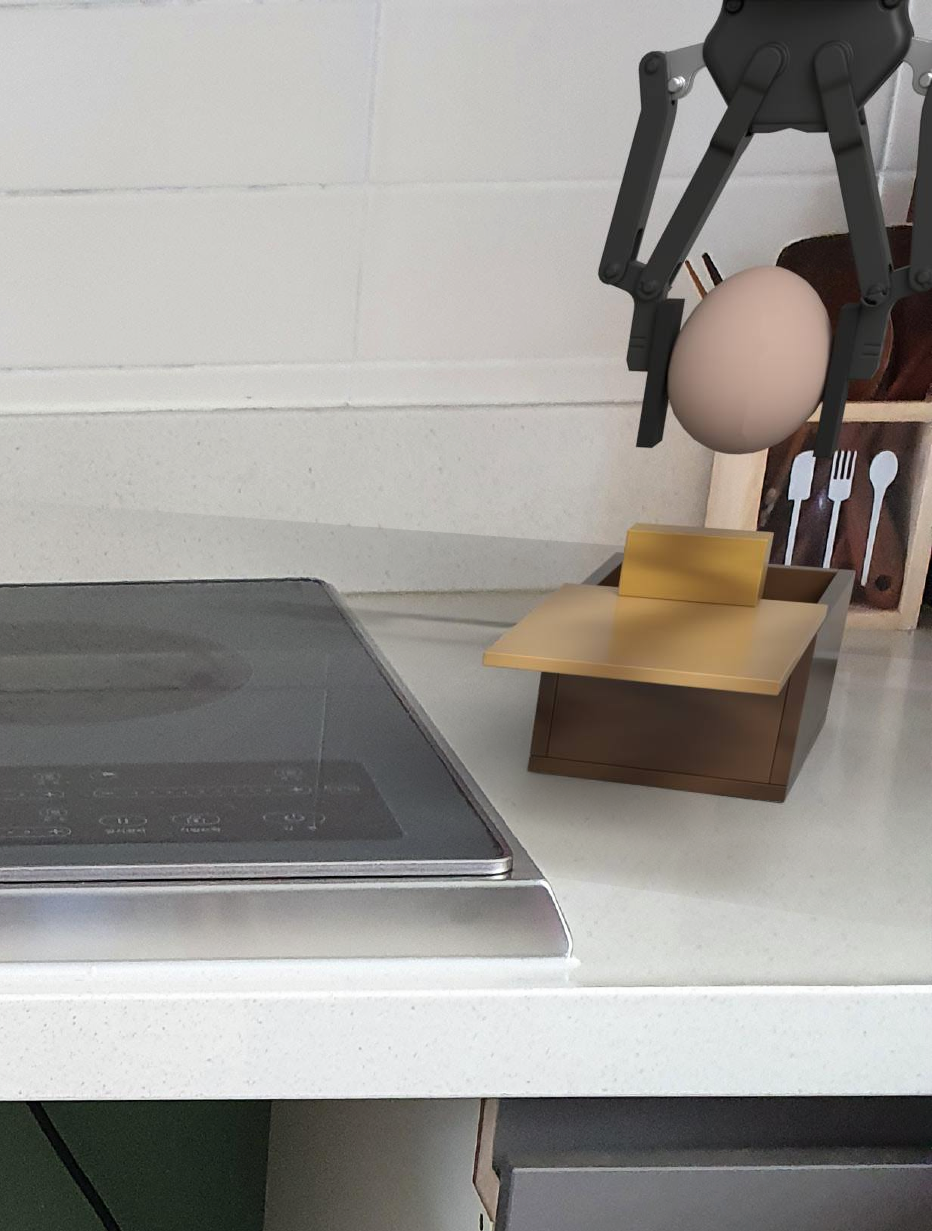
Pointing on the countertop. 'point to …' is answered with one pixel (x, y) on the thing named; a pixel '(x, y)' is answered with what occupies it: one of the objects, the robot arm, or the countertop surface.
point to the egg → (751, 361)
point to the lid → (671, 617)
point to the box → (697, 711)
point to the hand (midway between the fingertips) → (735, 447)
